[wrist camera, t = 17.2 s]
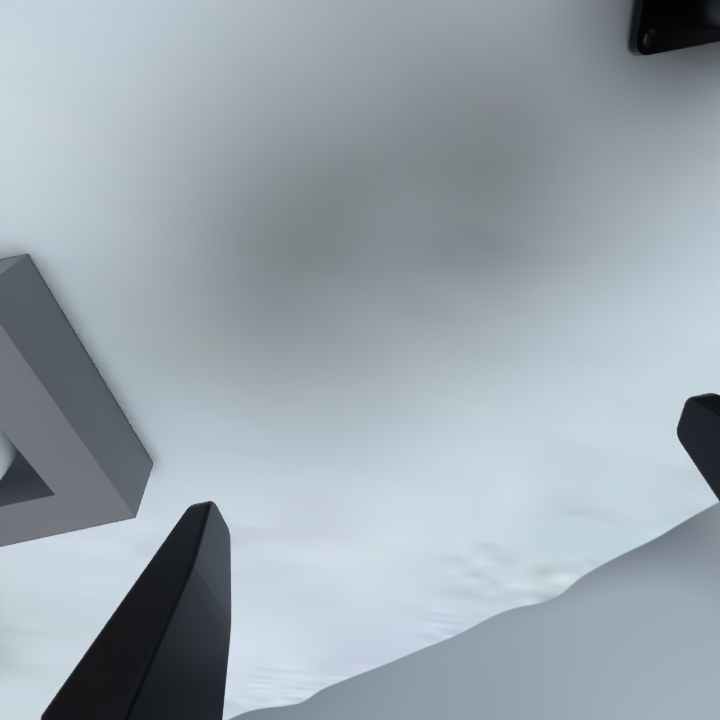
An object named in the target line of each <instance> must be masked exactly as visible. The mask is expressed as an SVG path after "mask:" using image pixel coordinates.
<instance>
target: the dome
mask: <svg viewBox="0 0 720 720" xmlns="http://www.w3.org/2000/svg"><path fill="white" fill-rule="evenodd" d="M19 452H20V451H19V450H18V449H17V448H16V446H15V445H14V444H13V443H12V442H11V440H10V439H9V438H8V437H7V436H6V434H5V433H4V432H3V431H2V429H1V428H0V480H1V479H2V477H3V476H4V474H5V473H6V471H7V470H8V468H9V467H10V466H11V464H12V463H13V461H14V460H15V458H16V457H17V455H18V454H19Z"/></svg>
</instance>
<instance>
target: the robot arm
mask: <svg viewBox="0 0 720 720" xmlns="http://www.w3.org/2000/svg"><path fill="white" fill-rule="evenodd" d="M648 31H649V33H650V39H649V42H648V43H647V44H646V45H644V41H643V39H644V37H645V35H646V33H647V32H648ZM718 41H720V0H636V3H635V10H634V17H633V23H632V30H631V37H630V49H631V51H632V53H634V54H635V55H651V54H656V53H661V52H666V51H671V50H676V49H682V48H687V47H692V46H697V45H702V44H707V43H713V42H718ZM677 435H678V438H679V441H680V442H681V444H682V445H683V447H684V448H685V450H686V451H687V453H688V454H689V456H690V457H691V459H692V460H693V462H694V463H695V465H696V466H697V468H698V470H699V471H700V473H701V474H702V476H703V477H704V479H705V480H706V482H707V483H708V485H709V486H710V488H711V489H712V491H713V492H714V494H715V495H716V497H717V498H718V500H719V501H720V395H718V394H714V393H707V394H702V395H698V396H693V397H690V398H689V399H688V400H687V401H686V402H685V405H684V408H683V411H682V414H681V417H680V420H679V423H678V426H677ZM230 632H231V553H230V533H229V529H228V527H227V525H226V523H225V521H224V519H223V517H222V515H221V513H220V511H219V509H218V507H217V506H216V504H215V503H214V502H212V501H207V502H203V503H198V504H194V505H191V506H190V507H189V508H188V509H187V510H186V512H185V513H184V514H183V516H182V517H181V519H180V520H179V521H178V523H177V524H176V526H175V527H174V529H173V530H172V531H171V533H170V534H169V536H168V537H167V538H166V540H165V541H164V543H163V544H162V546H161V547H160V548H159V550H158V551H157V553H156V554H155V555H154V557H153V558H152V560H151V561H150V563H149V564H148V565H147V567H146V568H145V570H144V571H143V573H142V574H141V575H140V577H139V578H138V580H137V581H136V582H135V584H134V585H133V587H132V588H131V590H130V591H129V592H128V594H127V595H126V597H125V598H124V599H123V601H122V602H121V604H120V605H119V607H118V608H117V609H116V611H115V612H114V614H113V615H112V616H111V618H110V619H109V621H108V622H107V624H106V625H105V626H104V628H103V629H102V631H101V632H100V633H99V635H98V636H97V638H96V639H95V641H94V642H93V643H92V645H91V646H90V648H89V649H88V651H87V652H86V653H85V655H84V656H83V658H82V659H81V660H80V662H79V663H78V665H77V666H76V668H75V669H74V670H73V672H72V673H71V675H70V676H69V677H68V679H67V680H66V682H65V683H64V685H63V686H62V687H61V689H60V690H59V692H58V693H57V694H56V696H55V697H54V699H53V700H52V702H51V703H50V704H49V706H48V707H47V709H46V710H45V712H44V713H43V714H42V716H41V720H222V717H223V706H224V696H225V685H226V675H227V664H228V654H229V644H230Z"/></svg>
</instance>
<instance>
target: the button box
mask: <svg viewBox="0 0 720 720" xmlns="http://www.w3.org/2000/svg"><path fill="white" fill-rule="evenodd" d="M0 428H1V429H2V431H3V432H4V433H5V434H6V436H7V437H8V438H9V439H10V440H11V442H12V443H13V444H14V445H15V446H16V448H17V449H18V450H19V451H20V453H21V454H18V455H17V457H16V458H15V460H14V461H13V463H12V464H11V466H10V467H9V468H8V470H7V471H6V473H5V474H4V476H3V477H2V479H1V480H0V547H2V546H7V545H11V544H16V543H20V542H25V541H30V540H34V539H39V538H44V537H48V536H53V535H58V534H62V533H67V532H72V531H76V530H81V529H86V528H90V527H95V526H100V525H104V524H109V523H113V522H118V521H123V520H127V519H132V518H136V515H137V512H138V509H139V506H140V503H141V500H142V497H143V494H144V490H145V487H146V484H147V481H148V478H149V475H150V472H151V469H152V466H153V463H152V461H151V459H150V458H149V456H148V454H147V453H146V451H145V449H144V448H143V446H142V444H141V443H140V441H139V439H138V437H137V436H136V434H135V432H134V431H133V429H132V427H131V426H130V424H129V422H128V421H127V419H126V417H125V416H124V414H123V412H122V411H121V409H120V407H119V406H118V404H117V402H116V401H115V399H114V397H113V396H112V394H111V392H110V391H109V389H108V387H107V386H106V384H105V382H104V381H103V379H102V377H101V376H100V374H99V372H98V371H97V369H96V367H95V366H94V364H93V362H92V361H91V359H90V357H89V356H88V354H87V352H86V351H85V349H84V347H83V346H82V344H81V342H80V341H79V339H78V337H77V336H76V334H75V332H74V331H73V329H72V327H71V326H70V324H69V322H68V321H67V319H66V317H65V316H64V314H63V312H62V311H61V309H60V307H59V306H58V304H57V302H56V301H55V299H54V297H53V296H52V294H51V292H50V291H49V289H48V287H47V286H46V284H45V282H44V281H43V279H42V277H41V276H40V274H39V272H38V271H37V269H36V267H35V266H34V264H33V262H32V261H31V259H30V257H29V256H28V254H25V255H20V256H15V257H10V258H5V259H0Z"/></svg>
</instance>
